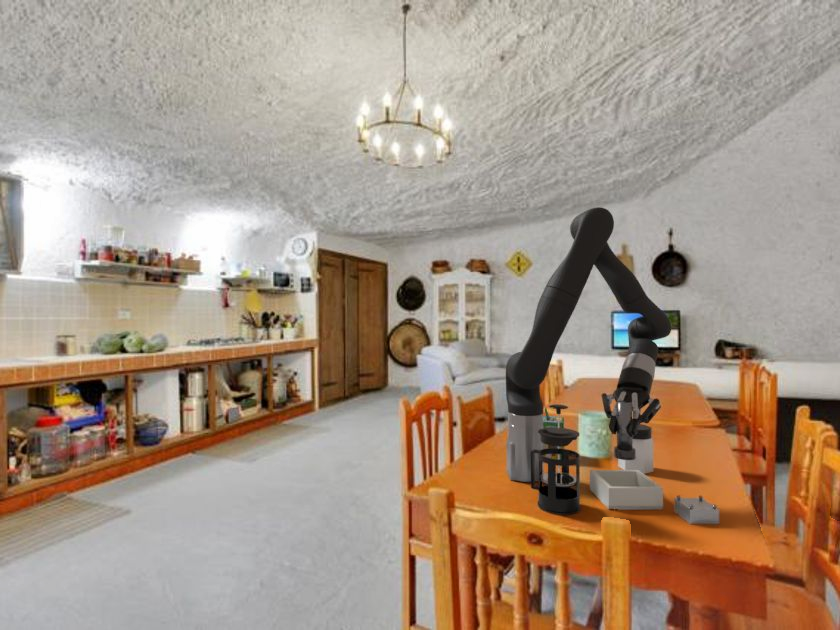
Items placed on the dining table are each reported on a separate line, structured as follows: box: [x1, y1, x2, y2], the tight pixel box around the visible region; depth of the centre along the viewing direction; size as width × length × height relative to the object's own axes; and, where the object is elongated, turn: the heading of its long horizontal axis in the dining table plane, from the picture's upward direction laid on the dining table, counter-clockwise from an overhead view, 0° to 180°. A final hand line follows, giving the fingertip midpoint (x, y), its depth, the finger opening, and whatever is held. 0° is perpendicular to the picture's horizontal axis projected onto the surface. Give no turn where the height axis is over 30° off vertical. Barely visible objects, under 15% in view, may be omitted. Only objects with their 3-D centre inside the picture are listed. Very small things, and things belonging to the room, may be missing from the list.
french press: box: [530, 403, 582, 516], centre depth 106 cm, size 12×9×23 cm
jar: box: [617, 423, 654, 475], centre depth 130 cm, size 9×8×12 cm
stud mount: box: [673, 494, 720, 525], centre depth 99 cm, size 6×6×4 cm
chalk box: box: [543, 406, 565, 460], centre depth 142 cm, size 9×9×15 cm
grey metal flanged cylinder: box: [613, 401, 636, 460], centre depth 109 cm, size 5×5×13 cm
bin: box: [589, 469, 664, 511], centre depth 109 cm, size 12×12×5 cm
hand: (621, 433), depth 108 cm, fingers closed on grey metal flanged cylinder, 3 cm apart
